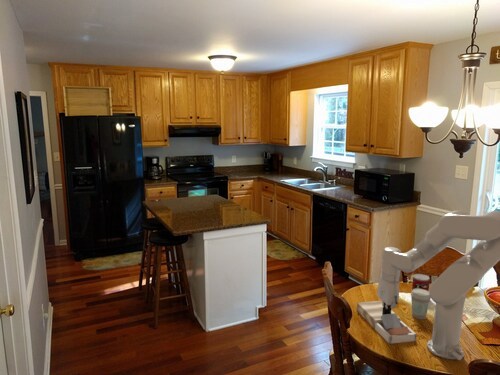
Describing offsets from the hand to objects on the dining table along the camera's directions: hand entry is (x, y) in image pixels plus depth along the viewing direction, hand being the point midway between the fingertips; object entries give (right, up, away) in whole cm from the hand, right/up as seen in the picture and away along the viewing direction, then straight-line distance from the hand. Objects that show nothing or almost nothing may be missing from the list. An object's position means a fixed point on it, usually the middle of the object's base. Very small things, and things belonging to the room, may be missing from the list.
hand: (386, 315), depth 165 cm
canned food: (+28, -1, +30) cm, 41 cm away
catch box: (+1, -6, -5) cm, 8 cm away
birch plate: (-1, -4, +8) cm, 9 cm away
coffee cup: (+19, -4, +10) cm, 22 cm away
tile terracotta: (+2, -3, -8) cm, 8 cm away
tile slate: (0, -2, -3) cm, 4 cm away
